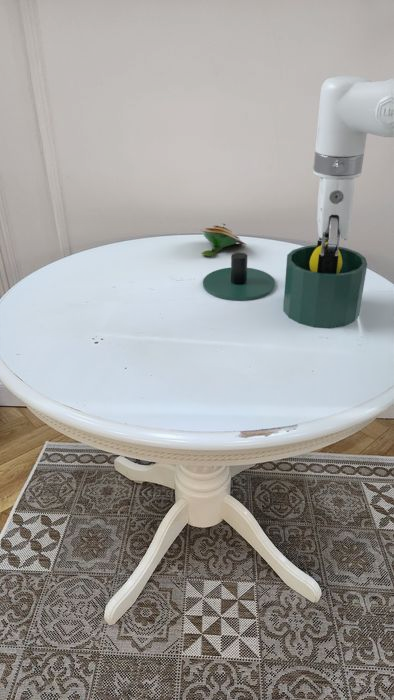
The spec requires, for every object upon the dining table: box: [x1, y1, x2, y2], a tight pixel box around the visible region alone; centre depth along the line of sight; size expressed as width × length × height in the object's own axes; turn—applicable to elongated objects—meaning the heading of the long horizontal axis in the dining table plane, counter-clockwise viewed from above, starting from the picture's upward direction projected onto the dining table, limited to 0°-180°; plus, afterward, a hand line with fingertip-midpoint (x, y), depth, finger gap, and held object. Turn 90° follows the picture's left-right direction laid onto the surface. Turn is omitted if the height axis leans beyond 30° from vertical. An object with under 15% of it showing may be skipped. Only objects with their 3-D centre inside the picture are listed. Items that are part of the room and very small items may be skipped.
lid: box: [202, 252, 276, 302], centre depth 107 cm, size 15×15×7 cm
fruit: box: [310, 241, 342, 274], centre depth 93 cm, size 6×6×8 cm
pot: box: [282, 244, 368, 329], centre depth 96 cm, size 14×14×10 cm
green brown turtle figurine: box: [193, 223, 247, 258], centre depth 123 cm, size 15×13×8 cm
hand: (325, 268), depth 94 cm, fingers closed on fruit, 5 cm apart
